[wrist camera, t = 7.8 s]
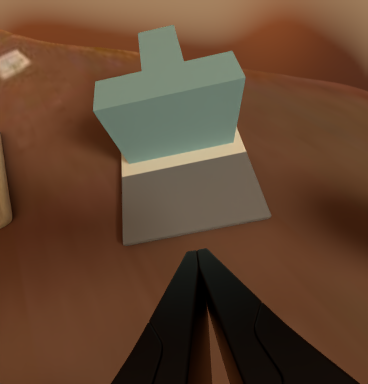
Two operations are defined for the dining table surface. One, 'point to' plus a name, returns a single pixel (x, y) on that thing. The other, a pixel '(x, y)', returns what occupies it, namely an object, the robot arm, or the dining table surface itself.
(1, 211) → the wooden puzzle
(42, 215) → the dining table surface
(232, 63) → the t block
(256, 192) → the mat
